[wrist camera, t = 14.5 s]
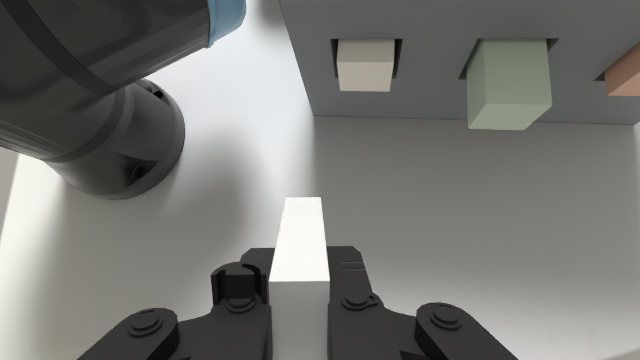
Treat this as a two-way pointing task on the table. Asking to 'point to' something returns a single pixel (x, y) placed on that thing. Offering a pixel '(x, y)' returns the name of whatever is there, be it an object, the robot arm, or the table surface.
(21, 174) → the table surface
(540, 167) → the table surface
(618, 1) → the keypad panel
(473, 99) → the sage key
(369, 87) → the cream key
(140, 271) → the table surface
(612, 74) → the terracotta key
